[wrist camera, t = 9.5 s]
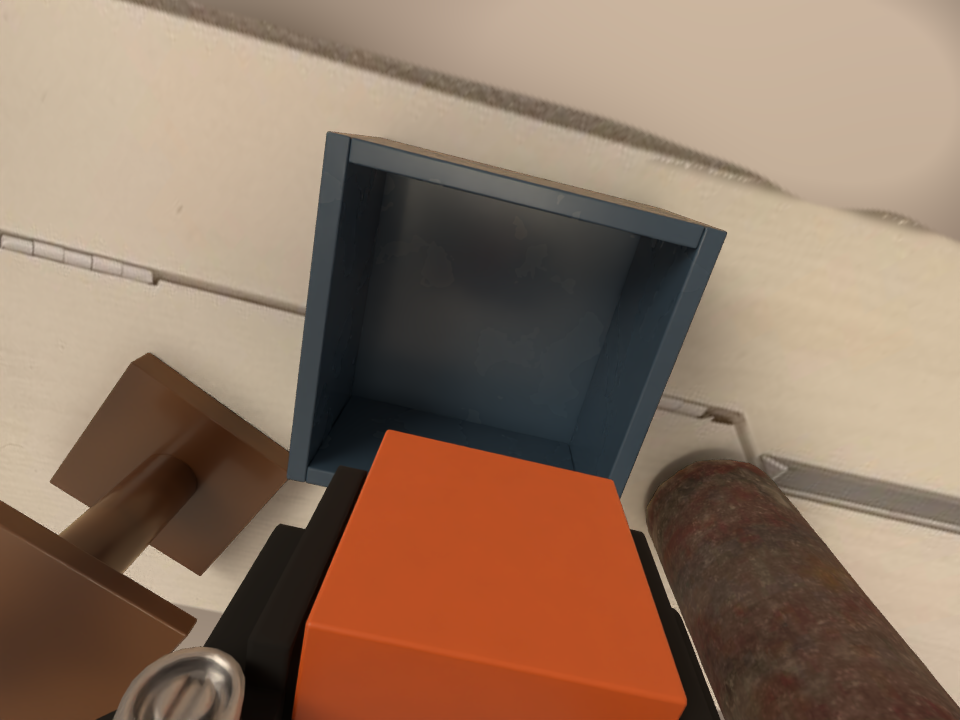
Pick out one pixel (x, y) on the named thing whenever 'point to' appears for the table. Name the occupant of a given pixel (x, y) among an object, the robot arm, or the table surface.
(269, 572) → the robot arm
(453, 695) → the orange block
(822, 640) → the brown textured cylinder
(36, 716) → the serving stand
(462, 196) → the blue open crate
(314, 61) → the table surface
